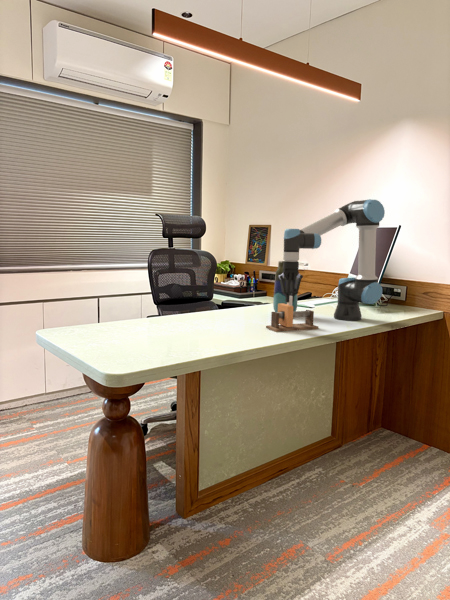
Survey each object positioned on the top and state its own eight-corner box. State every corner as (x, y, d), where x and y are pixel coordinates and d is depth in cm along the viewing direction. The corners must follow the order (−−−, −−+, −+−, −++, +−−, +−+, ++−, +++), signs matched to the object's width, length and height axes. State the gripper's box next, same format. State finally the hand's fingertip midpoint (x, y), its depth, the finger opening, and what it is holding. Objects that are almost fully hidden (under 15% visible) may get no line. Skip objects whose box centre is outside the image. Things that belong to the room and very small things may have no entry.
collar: (282, 323, 232) (283, 303, 231) (292, 326, 223) (293, 306, 222) (277, 323, 231) (277, 303, 230) (287, 327, 222) (287, 306, 220)
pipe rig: (307, 325, 238) (308, 308, 237) (318, 328, 229) (319, 311, 227) (266, 328, 229) (266, 310, 228) (275, 331, 220) (276, 313, 219)
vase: (268, 315, 266) (270, 261, 261) (279, 312, 277) (280, 260, 273) (291, 318, 258) (293, 262, 254) (300, 314, 270) (302, 261, 266)
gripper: (298, 260, 229) (296, 307, 233) (275, 260, 225) (274, 308, 228) (306, 261, 223) (304, 309, 226) (283, 261, 218) (281, 310, 221)
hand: (289, 308), depth 227 cm, fingers closed
